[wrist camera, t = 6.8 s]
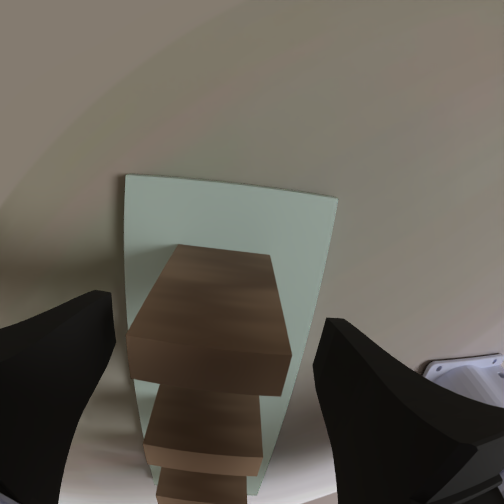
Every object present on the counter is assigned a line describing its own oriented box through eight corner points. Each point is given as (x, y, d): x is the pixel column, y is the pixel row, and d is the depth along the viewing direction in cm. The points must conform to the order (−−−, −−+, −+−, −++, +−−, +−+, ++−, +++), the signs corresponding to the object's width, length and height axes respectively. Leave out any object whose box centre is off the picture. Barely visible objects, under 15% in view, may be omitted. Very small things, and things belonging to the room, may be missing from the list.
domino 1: (270, 254, 15) (292, 355, 8) (264, 285, 16) (281, 396, 8) (178, 243, 15) (125, 335, 8) (176, 274, 15) (130, 378, 8)
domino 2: (255, 341, 17) (263, 457, 10) (252, 363, 17) (257, 476, 10) (175, 332, 16) (142, 443, 9) (175, 355, 17) (147, 464, 10)
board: (335, 196, 15) (338, 198, 14) (256, 490, 24) (256, 495, 23) (130, 173, 14) (125, 174, 13) (155, 480, 23) (154, 484, 23)
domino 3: (245, 402, 18) (247, 505, 11) (242, 417, 19) (243, 515, 12) (176, 394, 18) (155, 495, 11) (177, 410, 19) (158, 506, 11)
